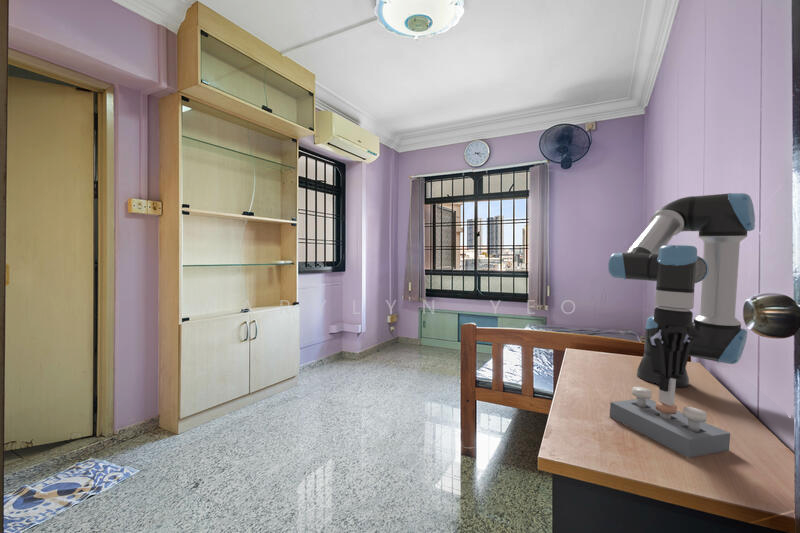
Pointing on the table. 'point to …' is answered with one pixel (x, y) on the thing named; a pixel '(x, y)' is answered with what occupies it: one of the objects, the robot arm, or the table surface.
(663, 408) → the terracotta plunger
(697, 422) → the plunger
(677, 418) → the console
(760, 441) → the table surface
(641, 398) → the plunger
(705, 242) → the robot arm
